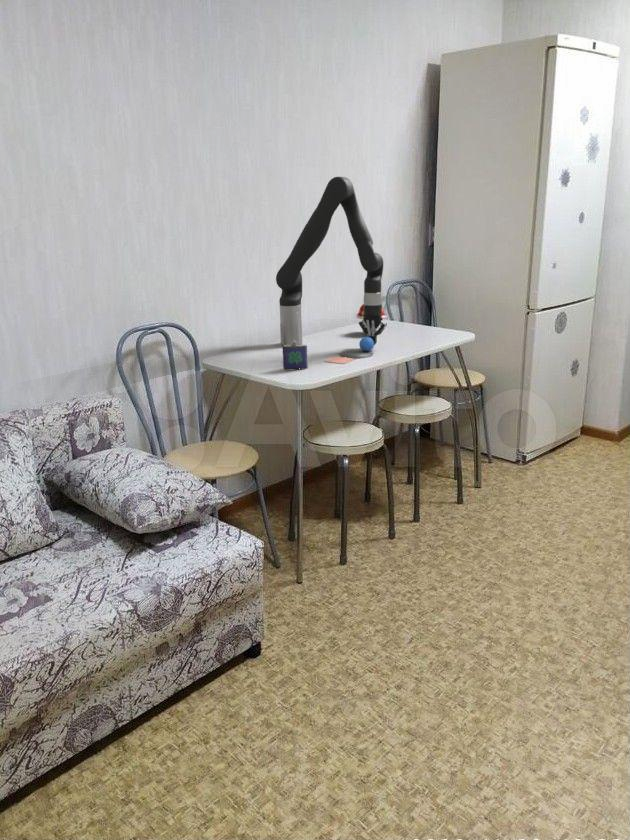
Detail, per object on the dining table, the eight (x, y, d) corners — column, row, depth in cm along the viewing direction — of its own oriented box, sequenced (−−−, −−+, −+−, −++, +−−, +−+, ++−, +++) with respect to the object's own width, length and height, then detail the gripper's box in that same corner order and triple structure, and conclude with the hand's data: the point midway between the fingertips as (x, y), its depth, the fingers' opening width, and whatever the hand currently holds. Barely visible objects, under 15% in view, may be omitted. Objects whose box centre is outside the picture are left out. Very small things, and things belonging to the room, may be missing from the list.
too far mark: (336, 356, 284) (336, 356, 284) (355, 359, 279) (355, 358, 279) (324, 361, 277) (324, 361, 277) (343, 364, 272) (343, 363, 272)
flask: (307, 367, 269) (306, 339, 266) (308, 369, 267) (307, 341, 263) (283, 368, 269) (281, 340, 265) (283, 370, 266) (282, 342, 263)
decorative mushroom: (387, 331, 332) (387, 298, 327) (385, 337, 319) (385, 303, 314) (357, 331, 334) (357, 299, 329) (354, 337, 321) (354, 303, 316)
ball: (369, 339, 296) (366, 353, 295) (357, 335, 292) (355, 349, 292) (378, 338, 291) (375, 352, 290) (366, 334, 287) (364, 349, 287)
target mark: (339, 358, 281) (339, 358, 281) (338, 351, 294) (338, 350, 294) (374, 357, 281) (374, 357, 281) (372, 350, 294) (372, 349, 294)
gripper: (391, 302, 291) (391, 344, 296) (363, 300, 298) (363, 341, 304) (382, 305, 285) (382, 348, 291) (354, 303, 293) (354, 344, 298)
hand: (372, 344), depth 297 cm, fingers closed
